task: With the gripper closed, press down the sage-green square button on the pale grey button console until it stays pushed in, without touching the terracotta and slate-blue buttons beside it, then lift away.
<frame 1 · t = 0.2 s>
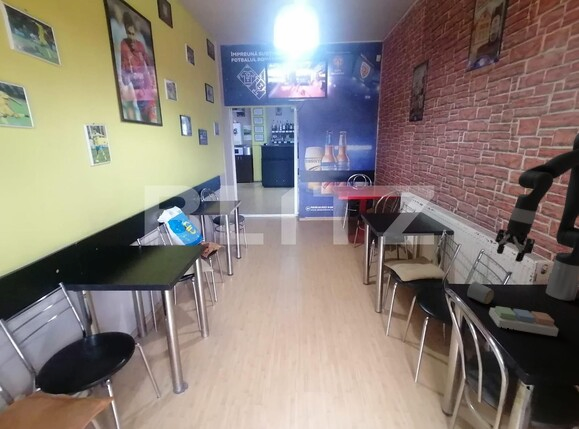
hand: (508, 257, 120), 23 cm above the table, tool pointing down, fingers open, 8 cm apart
green button: (504, 313, 114), point 4 cm above the table, slide at 0.0 cm
console: (520, 324, 113), on the table
terracotta button: (541, 319, 111), point 4 cm above the table, slide at 0.0 cm
slate button: (523, 316, 112), point 4 cm above the table, slide at 0.0 cm
grey cylinder: (479, 299, 131), on the table
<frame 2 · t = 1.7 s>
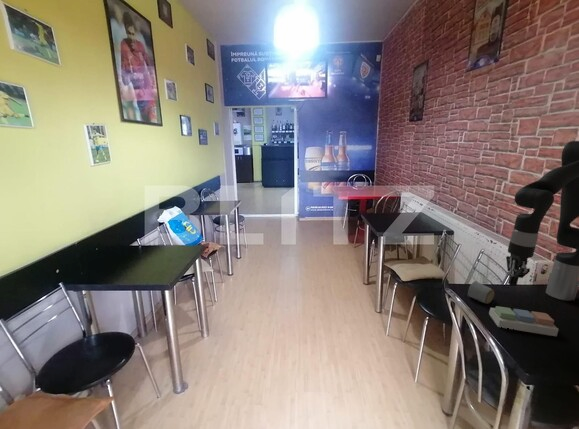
hand: (512, 284, 110), 16 cm above the table, tool pointing down, fingers closed
nothing on the table moved.
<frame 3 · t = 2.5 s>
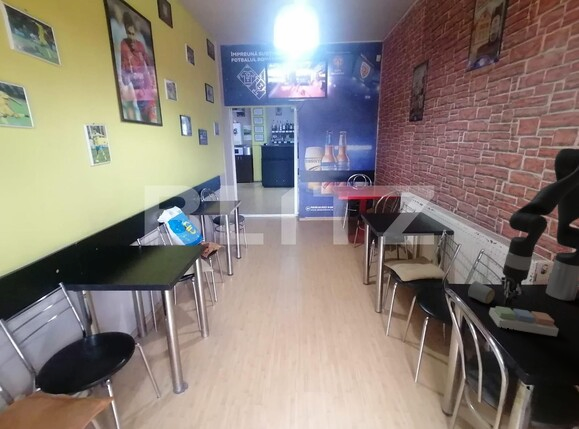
hand: (506, 305, 113), 7 cm above the table, tool pointing down, fingers closed
nothing on the table moved.
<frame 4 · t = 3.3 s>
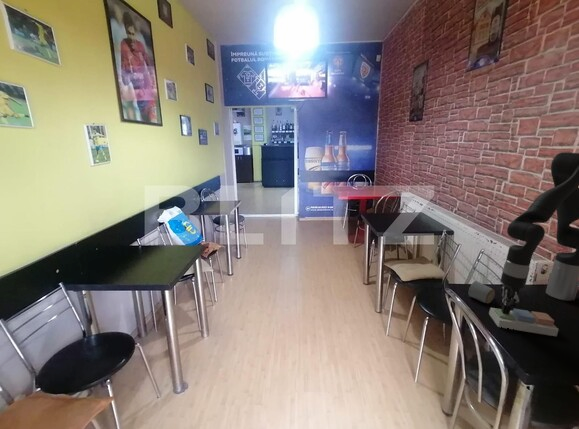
hand: (505, 312, 113), 4 cm above the table, tool pointing down, fingers closed
green button: (504, 315, 114), point 3 cm above the table, slide at 1.1 cm, touching gripper
everything else where it was.
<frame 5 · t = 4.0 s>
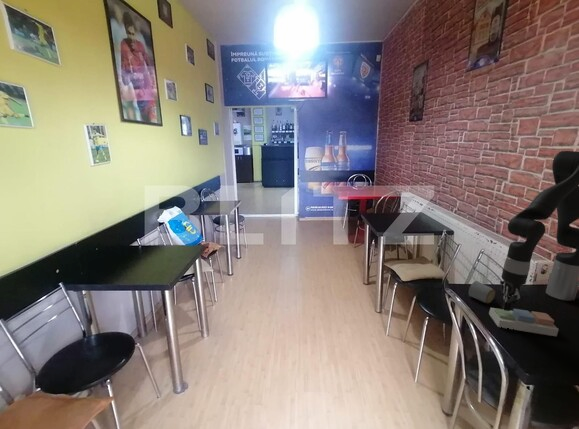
hand: (505, 309, 113), 5 cm above the table, tool pointing down, fingers closed
green button: (504, 315, 114), point 3 cm above the table, slide at 1.1 cm
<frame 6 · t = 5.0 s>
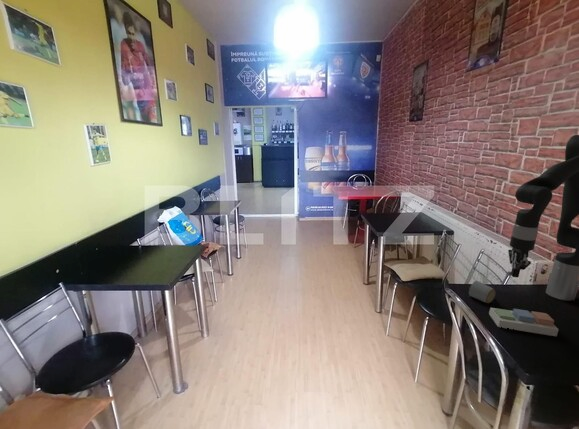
hand: (514, 276, 117), 17 cm above the table, tool pointing down, fingers closed
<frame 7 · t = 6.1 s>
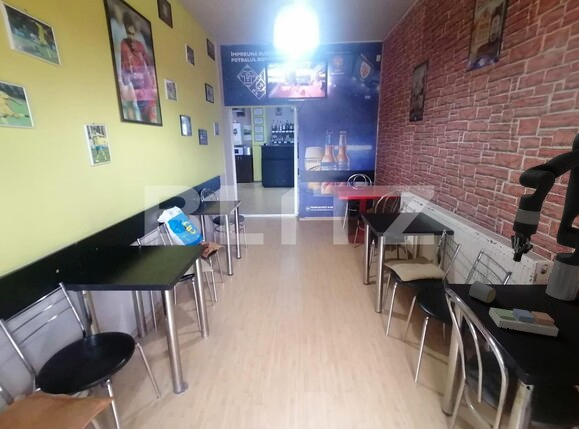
hand: (516, 261, 119), 22 cm above the table, tool pointing down, fingers closed
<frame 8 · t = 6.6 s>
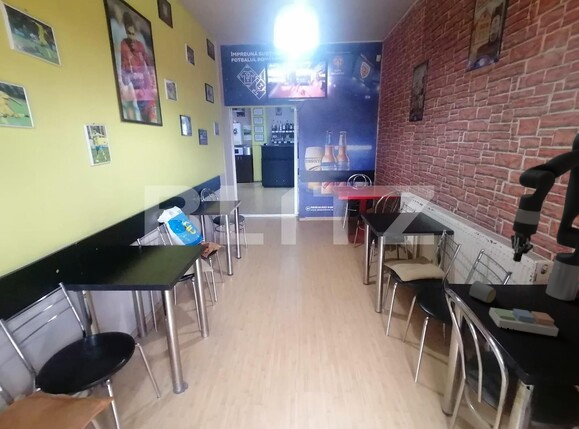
hand: (516, 261, 119), 22 cm above the table, tool pointing down, fingers closed
at the end: green button slide at 1.1 cm; terracotta button slide at 0.0 cm; slate button slide at 0.0 cm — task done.
